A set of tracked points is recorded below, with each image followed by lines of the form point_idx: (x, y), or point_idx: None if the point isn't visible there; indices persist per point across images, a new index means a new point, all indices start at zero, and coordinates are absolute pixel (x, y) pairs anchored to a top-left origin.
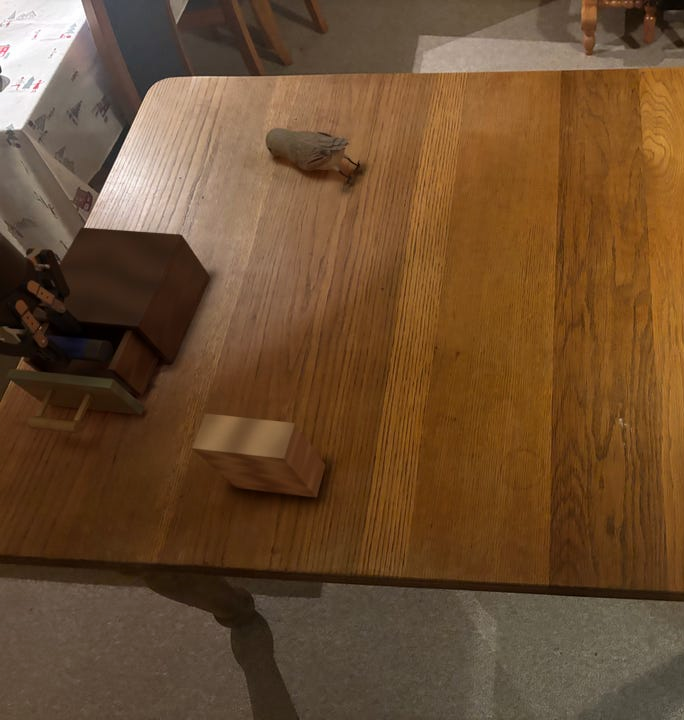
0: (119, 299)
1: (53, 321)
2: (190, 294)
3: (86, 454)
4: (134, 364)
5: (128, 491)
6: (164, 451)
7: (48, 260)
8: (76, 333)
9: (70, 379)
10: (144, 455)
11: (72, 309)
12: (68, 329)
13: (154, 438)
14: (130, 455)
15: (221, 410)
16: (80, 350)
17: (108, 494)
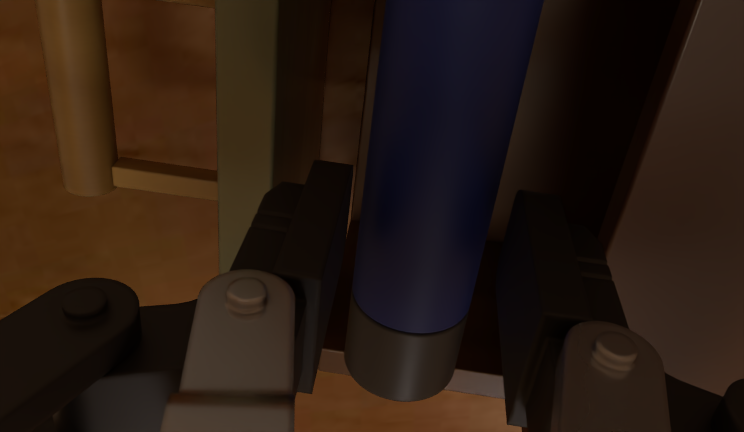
0: (734, 381)
1: (528, 279)
2: None
3: (122, 46)
4: None
5: (38, 220)
6: (181, 290)
7: None
8: (500, 260)
9: (242, 216)
10: (158, 240)
11: (739, 144)
12: (510, 261)
13: (218, 256)
14: (150, 199)
15: (326, 405)
16: (373, 311)
17: (11, 164)
